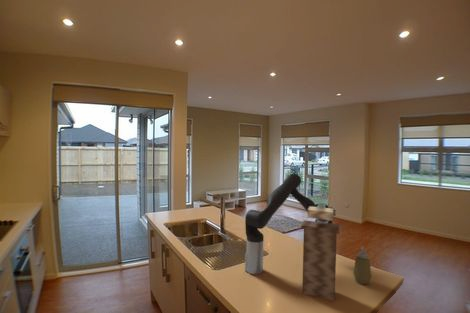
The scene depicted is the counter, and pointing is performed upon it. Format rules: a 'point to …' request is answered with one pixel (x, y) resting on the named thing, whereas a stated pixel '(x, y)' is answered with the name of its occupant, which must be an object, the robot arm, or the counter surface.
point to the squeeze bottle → (362, 268)
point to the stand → (319, 259)
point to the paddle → (320, 212)
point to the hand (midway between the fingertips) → (321, 205)
